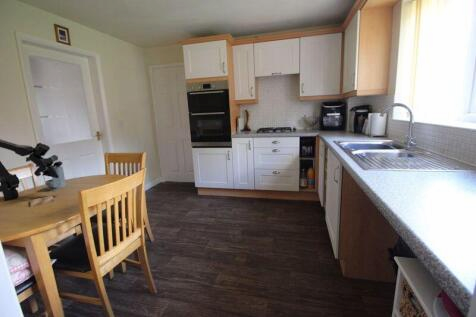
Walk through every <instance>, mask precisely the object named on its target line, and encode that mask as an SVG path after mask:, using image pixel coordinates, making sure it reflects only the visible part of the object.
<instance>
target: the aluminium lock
mask: <svg viewBox="0 0 476 317" xmlns="http://www.w3.org/2000/svg"><path fill="white" fill-rule="evenodd" d="M51 170H52V171H53V172H54V173H55V174H56V175H57V176H58V178H54V177H51V179H52V180H53V186H54V187H61V188H63V187H66V186H67V183H66V179H65V178H66V177H65V172H64V167H63V166H60V167H53V168H51Z"/></svg>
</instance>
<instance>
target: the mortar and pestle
mask: <svg viewBox="0 0 476 317" xmlns="http://www.w3.org/2000/svg"><path fill="white" fill-rule="evenodd" d="M44 183H45V185H46V186H47V187H48V188H49V190H50V191H51V192H52V191H53V192H54V191H58V190H61V189H62V187H54V186H53V180H52V178H51V179H48V180H45V181H44Z"/></svg>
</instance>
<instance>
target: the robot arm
mask: <svg viewBox="0 0 476 317" xmlns="http://www.w3.org/2000/svg"><path fill="white" fill-rule="evenodd" d="M0 148H2V149H5V150H9V151H12V152H14V153H15V154H17V155H18V156H20V157H25V161H26V162H32V163H33V164H34V165H35V167H36V168H37V169H36V170H35V171H34V172H33V174H34V176H36V177H40V176H41V175H42V176H45V177H51V178H52V177H54V178H58V176H57V175H56V174H55V173H54V172H53V171H52V170H51V168H53V167H62V165H63V162H62V161H60V160H59V156H58V155H56V154H54V155H51V156H50V157H46V158H45V157H44V156H46V155H47V153H48V152H49V150H50V149H51V148H50V146H49V145H47V144H44V143H41V142H38V143H37V144H36V145H35V147H33V146H31V145H25V144H24V145H23V144H17V143H14V142H11V141H6V140H4V139H1V138H0ZM58 160H59V161H58ZM20 183H21V182H20V178H19V177H18V176H17V174H16V173H14V174H13V173H10V172H9V171H8V170H7V168H6V166H4V164H3V162H1V160H0V193H2V196H3V201H10V200H14V199H19V196H20V194H19V190H18V189H17V188H19V185H20Z"/></svg>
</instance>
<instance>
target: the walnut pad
mask: <svg viewBox="0 0 476 317" xmlns="http://www.w3.org/2000/svg"><path fill="white" fill-rule="evenodd" d="M53 202H55V199H54V197H53V195H49V196H44V197H40V198H35V199H30V200H29V203H30V207H34V206H35V207H36V206H41V205H44V204H48V203H53Z"/></svg>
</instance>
